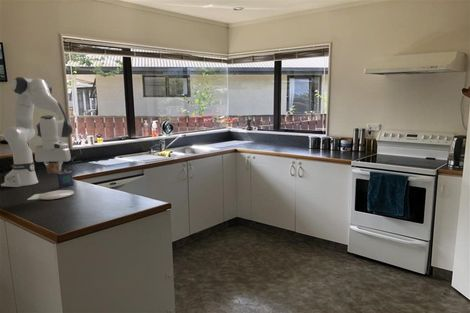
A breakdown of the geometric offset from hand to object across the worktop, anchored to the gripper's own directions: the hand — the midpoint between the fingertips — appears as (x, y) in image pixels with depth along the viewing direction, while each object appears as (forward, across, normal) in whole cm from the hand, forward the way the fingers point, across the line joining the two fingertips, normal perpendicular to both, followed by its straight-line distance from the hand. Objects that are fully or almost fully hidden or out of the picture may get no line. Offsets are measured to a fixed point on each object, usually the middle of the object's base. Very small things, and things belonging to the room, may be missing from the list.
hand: (54, 169), depth 203 cm
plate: (+15, 0, 0) cm, 15 cm away
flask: (+16, -10, +23) cm, 29 cm away
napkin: (+15, -10, -2) cm, 19 cm away
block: (+2, 0, 0) cm, 2 cm away
